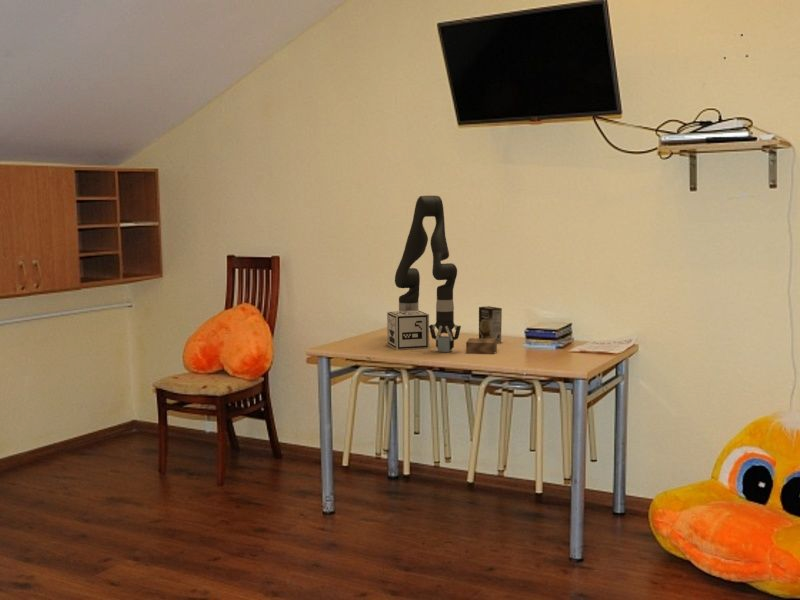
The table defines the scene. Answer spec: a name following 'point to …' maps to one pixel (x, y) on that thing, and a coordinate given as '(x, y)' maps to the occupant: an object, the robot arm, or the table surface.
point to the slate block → (444, 344)
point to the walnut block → (481, 346)
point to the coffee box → (490, 323)
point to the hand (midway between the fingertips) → (445, 348)
